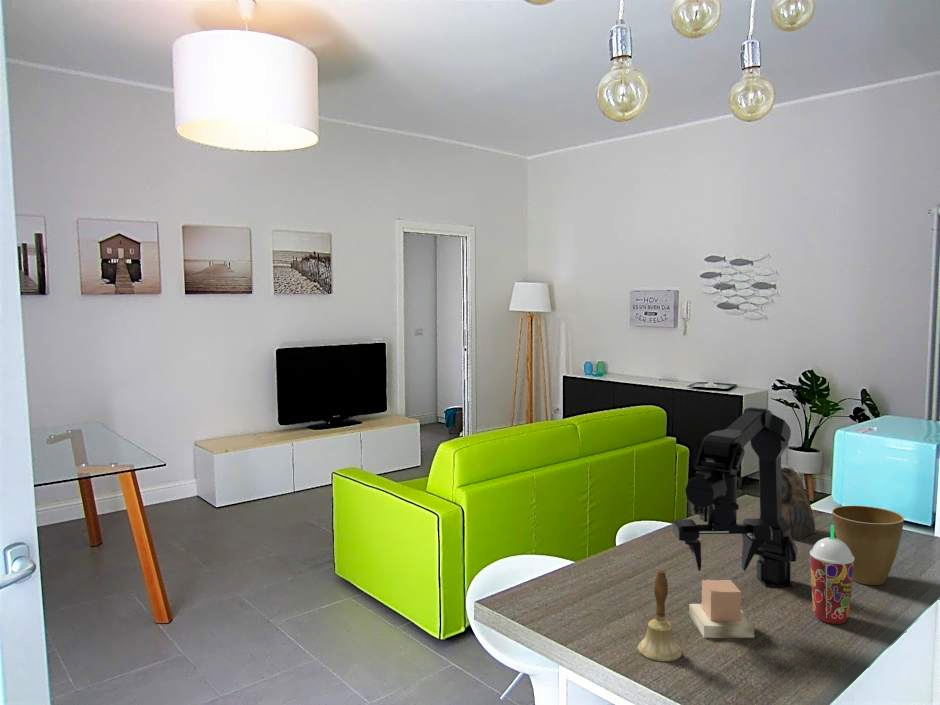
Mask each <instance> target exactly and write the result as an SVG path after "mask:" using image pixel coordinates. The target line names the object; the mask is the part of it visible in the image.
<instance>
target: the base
mask: <svg viewBox="0 0 940 705" xmlns="http://www.w3.org/2000/svg"><path fill="white" fill-rule="evenodd" d="M688 606H689V607H688V608H689V612H688V615H690V616H689V617H690V618H691V619H690V620H692V622H693V623H694V625H695V626H696V628H697V629H698V631H699V633H700V634H701V636H702V637H703V638H704V639H713V638H714V639H715V638H716V639H719V638H721V639H722V638H724V639H725V638H727V639H729V638H730V639H731V638H735V639H736V638H737V639H739V638H755V624H754V623H753V621H752V620H750V618H749V617H748V616H747V614H746V613H745V612H744V610H742V609H741V621H711V620H710V619H709V618H708V616H707V615H706V613H705V612H704V610H703V609H702V603H689V605H688Z"/></svg>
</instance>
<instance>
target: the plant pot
mask: <svg viewBox="0 0 940 705" xmlns="http://www.w3.org/2000/svg"><path fill="white" fill-rule="evenodd" d="M831 514H832V516H831V517H832V521H833V525H834V535H835V538H836V539H839V540H841V541H843V542H844V543H845V544H846V545H847V546H848V547H849V549H850V550H851V553H852V555H853V556H854V557H855V559H854V567H853V578H852V582H853V581H854V582H855V583H859V584H862V585H867V586H881V585H883V584H885V583H886V580H887V578H888V576H889V574H890V572H891V570H892V567H893V565H894V562H895V559H896V556H897V553H898V549H899V546H900V542H901V539H902V538H901V537H902V533H903V529H904V528H903V527H904V522H905V517H904V516H903V515H902V514H901V513H898V512H896V511H892V510H890V509H886V508H882V507H875V506H866V505H840V506H836V507H834V508H833V509H831Z"/></svg>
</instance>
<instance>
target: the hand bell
mask: <svg viewBox="0 0 940 705" xmlns="http://www.w3.org/2000/svg"><path fill="white" fill-rule="evenodd" d="M653 591H654V597H655V601H656V607H655V608H656V610H655V611H656V612H655V618H654V619H651V620H649V622H648V624H647V630H646V634H645V636H644V638H643V639H642V640H640V642H639V643H638V645H637V650H638V652H639V653H640V654H641V656H643V657H646V658H647V659H648V660H649V659H650V660H653V661H657V662H673V661H674V662H675V661H676V660H679V659H680V658H681V657H682V656H683V651H682V648H681V647H680V646H679V644H678V643H677V641H676V640H675V636H674V633H673V625H672V624H671V623H670V621H668V620H666V619H665V616H666V613H665V612H666V610H665V606H666V599H667V597H668V591H669V583H668V580H667V576H666V571H665V570H663V569H658V571H657V573H656V577H655V578H654V583H653Z"/></svg>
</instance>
